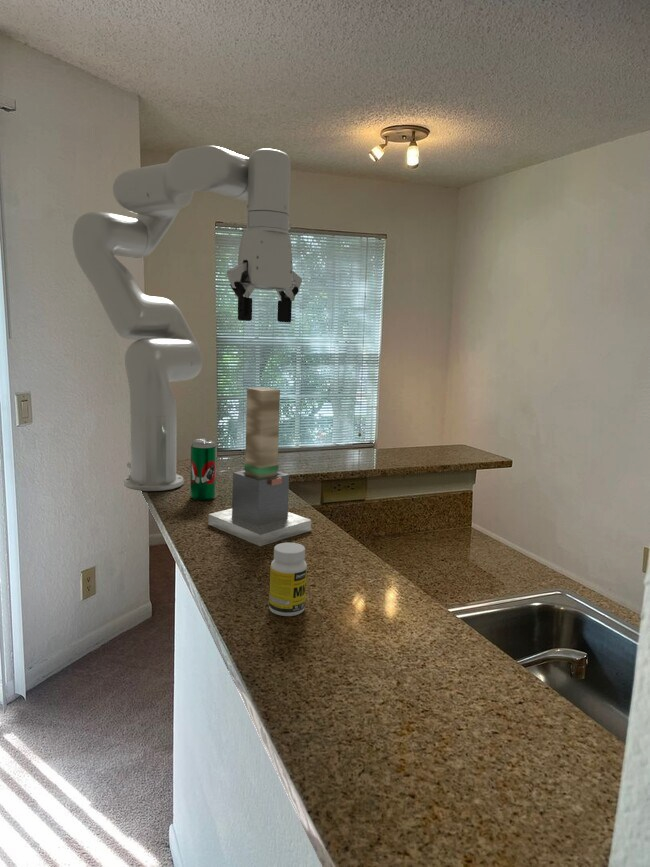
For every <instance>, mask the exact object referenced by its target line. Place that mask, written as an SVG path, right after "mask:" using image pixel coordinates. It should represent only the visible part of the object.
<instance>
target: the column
mask: <svg viewBox="0 0 650 867" xmlns="http://www.w3.org/2000/svg"><path fill="white" fill-rule="evenodd" d="M280 398H281V389H277V388H273V387H266V386H264V387H263V386H260V387H248V388H246V414H245V415H246V421H245V422H246V423H245V425H246V426H245V457H244V458H245V461H244V462H245V463H244V467H243V469H244V470H245V474H246V475H250V476H253V477H256V478H259V479H261V478H265V477H270V476H275V475H277V472H278V471H279V464H278V463H279V462H278V461H279V460H278V459H279V457H278V456H279V434H280V433H279V431H280V430H279V428H280V408H281V406H280V405H281V404H280V403H281V402H280V401H281V399H280ZM244 470H243V471H244Z"/></svg>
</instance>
